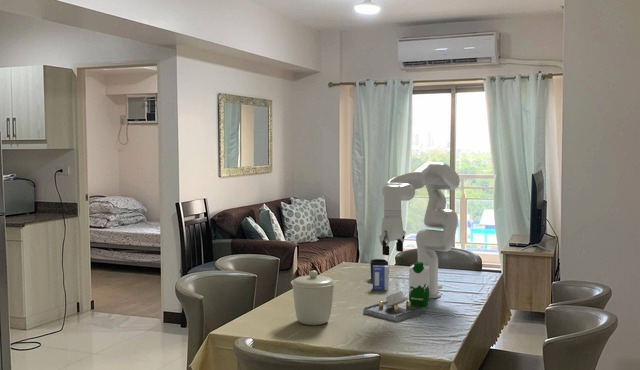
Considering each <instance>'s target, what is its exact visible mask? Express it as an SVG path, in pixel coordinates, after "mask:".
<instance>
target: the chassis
mask: <svg viewBox="0 0 640 370" xmlns="http://www.w3.org/2000/svg"><path fill="white" fill-rule="evenodd" d="M386 304H388V302H387V300H386V301H383V300H379V302H378V303H375V304H372V305H371V304H370V305H368V306H364V308H363V311H362V312H363V314H365V315H367V316H368V315H369V316H373V317H376V318H380V319H385V320H388V321H391V322H396V323H398V322H401V321H404V320H407V319H411V318H413V317H417V316H419V315H423V314H426V313H427V308H425V307H424V306H423V307H420V306H415V305H411V301H409V300H406V301H405V302H402V303H400V304H395V305H394V306H390V307H386Z"/></svg>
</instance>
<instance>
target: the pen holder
mask: <svg viewBox="0 0 640 370" xmlns="http://www.w3.org/2000/svg"><path fill="white" fill-rule="evenodd" d="M373 266H389V261H387V259H383V258H374V259H370V280H371V281H373Z"/></svg>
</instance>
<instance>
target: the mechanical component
mask: <svg viewBox="0 0 640 370" xmlns="http://www.w3.org/2000/svg"><path fill="white" fill-rule="evenodd" d="M385 299H386V301H387V302H388V304H386V307H390V306H394V305H395V304H400V303H405V302H406V301H409V296H404V292H403V291H398V292H395V293H392V294H389V295H387V296H386V297H385Z"/></svg>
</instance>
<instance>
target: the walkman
mask: <svg viewBox="0 0 640 370" xmlns="http://www.w3.org/2000/svg"><path fill="white" fill-rule="evenodd" d="M389 267H390V266H389V265H388V266H373V280H372V290H373V291H389V277H390V276H389V273H390V270H389Z"/></svg>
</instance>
